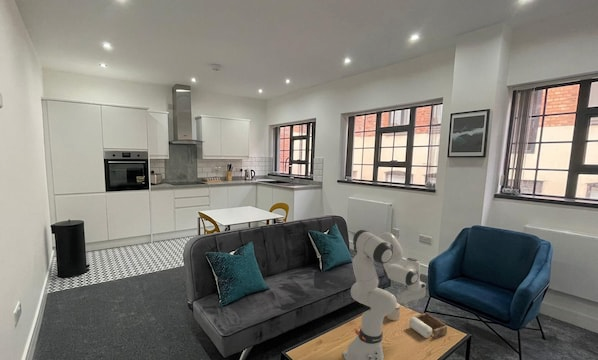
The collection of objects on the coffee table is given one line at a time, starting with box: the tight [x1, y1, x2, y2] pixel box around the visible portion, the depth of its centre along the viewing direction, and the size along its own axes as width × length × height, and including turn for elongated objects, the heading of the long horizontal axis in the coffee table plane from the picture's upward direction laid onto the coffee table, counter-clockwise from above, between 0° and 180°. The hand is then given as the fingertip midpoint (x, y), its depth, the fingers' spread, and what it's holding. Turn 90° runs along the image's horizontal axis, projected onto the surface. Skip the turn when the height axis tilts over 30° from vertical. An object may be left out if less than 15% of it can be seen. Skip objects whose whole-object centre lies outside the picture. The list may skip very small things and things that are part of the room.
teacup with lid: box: [385, 302, 401, 321], centre depth 195 cm, size 12×9×12 cm
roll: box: [408, 316, 433, 339], centre depth 178 cm, size 12×7×7 cm, turn 25°
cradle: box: [413, 312, 448, 339], centre depth 181 cm, size 10×16×6 cm, turn 25°
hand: (410, 306), depth 172 cm, fingers open, 5 cm apart
